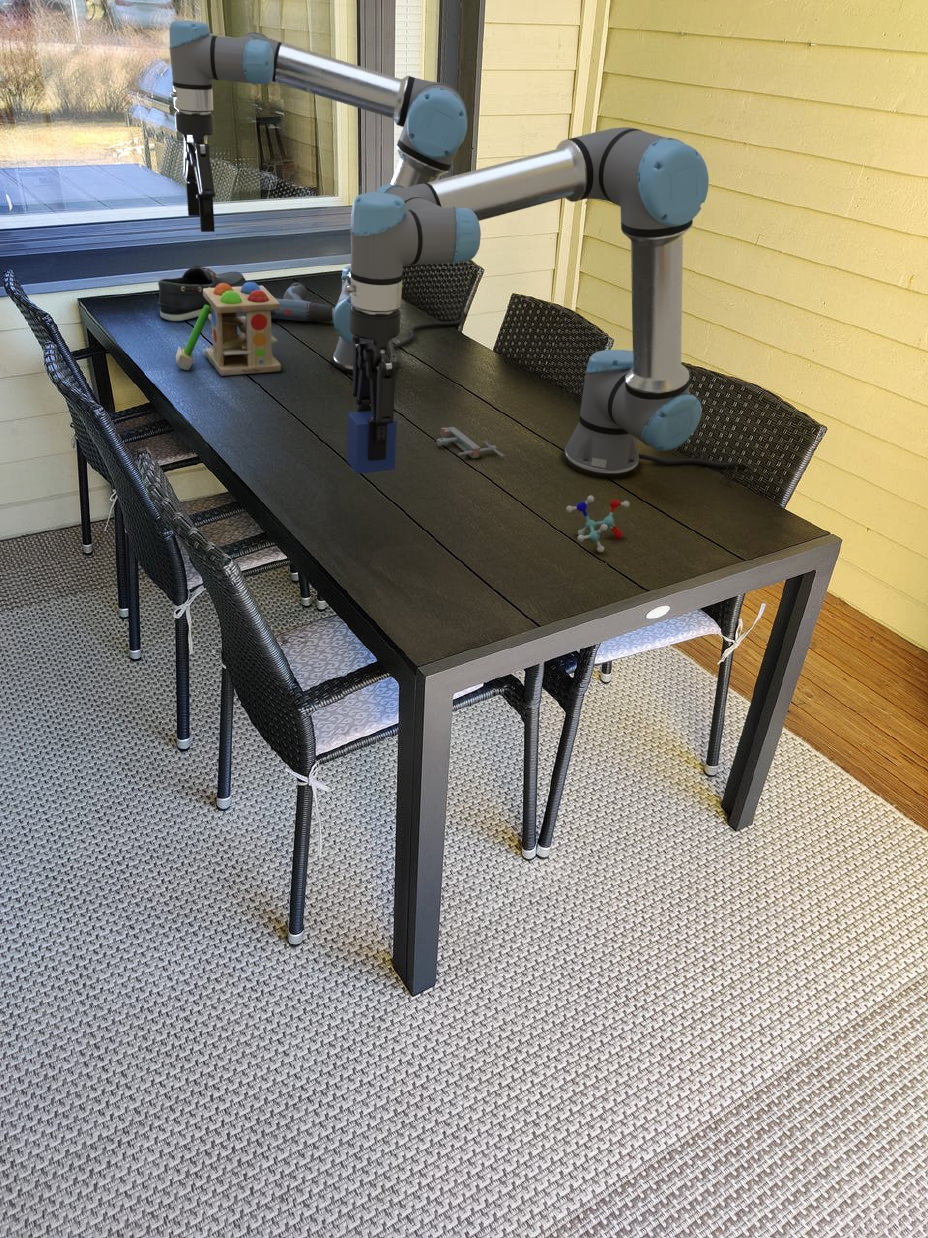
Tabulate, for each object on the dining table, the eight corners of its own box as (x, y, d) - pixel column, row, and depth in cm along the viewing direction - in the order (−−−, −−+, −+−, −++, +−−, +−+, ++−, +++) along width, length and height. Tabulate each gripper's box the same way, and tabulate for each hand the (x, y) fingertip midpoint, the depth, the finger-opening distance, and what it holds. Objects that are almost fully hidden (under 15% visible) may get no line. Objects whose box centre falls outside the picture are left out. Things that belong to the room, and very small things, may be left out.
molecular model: (629, 546, 167) (611, 490, 165) (576, 561, 170) (559, 506, 169) (639, 535, 177) (623, 482, 176) (590, 549, 181) (573, 498, 179)
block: (346, 461, 160) (347, 412, 155) (384, 456, 163) (386, 409, 158) (356, 474, 157) (357, 424, 152) (394, 469, 159) (396, 421, 154)
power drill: (344, 304, 276) (335, 327, 259) (277, 298, 275) (264, 321, 258) (344, 285, 273) (335, 306, 256) (277, 279, 272) (264, 300, 255)
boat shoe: (265, 300, 274) (264, 261, 269) (177, 323, 251) (173, 281, 245) (232, 291, 280) (229, 254, 275) (142, 313, 256) (138, 272, 251)
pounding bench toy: (183, 379, 220) (176, 299, 210) (169, 357, 231) (162, 280, 221) (282, 371, 230) (280, 294, 220) (264, 350, 240) (262, 276, 230)
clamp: (428, 429, 204) (470, 423, 208) (427, 439, 205) (469, 432, 209) (464, 459, 193) (507, 451, 198) (463, 469, 194) (506, 461, 199)
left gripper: (163, 100, 203) (172, 209, 215) (186, 121, 185) (194, 238, 197) (200, 102, 206) (207, 209, 218) (226, 122, 187) (232, 237, 199)
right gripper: (332, 290, 150) (331, 431, 163) (371, 328, 137) (367, 478, 150) (378, 288, 153) (374, 427, 166) (421, 325, 140) (412, 473, 153)
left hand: (201, 223), depth 207 cm, fingers open, 13 cm apart
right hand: (371, 451), depth 158 cm, fingers closed on block, 5 cm apart
